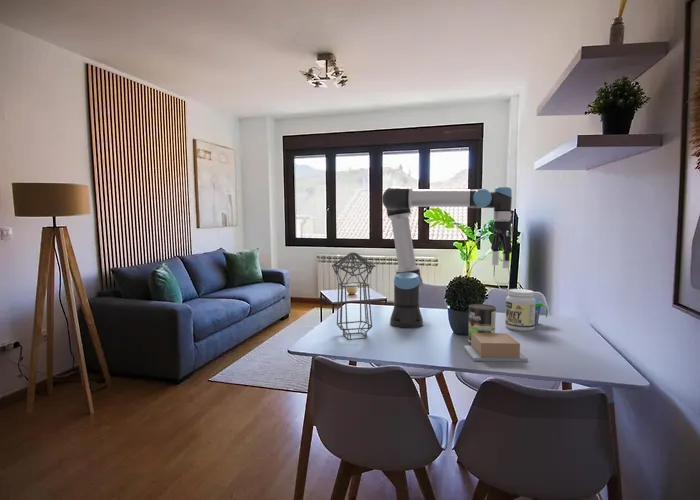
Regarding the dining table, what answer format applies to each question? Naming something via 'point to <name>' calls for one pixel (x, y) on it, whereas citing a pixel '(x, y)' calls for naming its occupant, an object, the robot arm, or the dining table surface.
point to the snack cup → (537, 310)
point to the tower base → (494, 347)
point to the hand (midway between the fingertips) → (500, 266)
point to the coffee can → (481, 319)
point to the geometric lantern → (353, 286)
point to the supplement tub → (520, 310)
